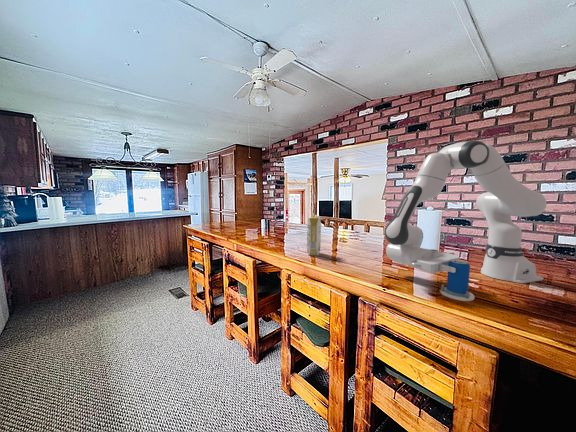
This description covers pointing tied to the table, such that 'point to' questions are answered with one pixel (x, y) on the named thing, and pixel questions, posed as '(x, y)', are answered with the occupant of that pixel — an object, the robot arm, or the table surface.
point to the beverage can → (458, 277)
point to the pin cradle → (466, 297)
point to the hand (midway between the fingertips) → (461, 268)
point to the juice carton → (314, 235)
